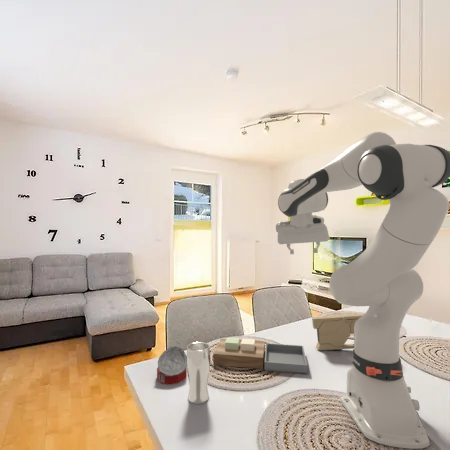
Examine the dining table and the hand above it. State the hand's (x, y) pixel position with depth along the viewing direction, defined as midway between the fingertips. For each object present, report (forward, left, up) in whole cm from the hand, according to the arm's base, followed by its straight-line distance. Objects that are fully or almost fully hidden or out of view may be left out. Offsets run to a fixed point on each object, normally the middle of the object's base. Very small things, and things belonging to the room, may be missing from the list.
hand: (303, 253), depth 114 cm
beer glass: (-39, +34, -40) cm, 65 cm away
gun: (+2, -16, -40) cm, 43 cm away
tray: (-12, +8, -39) cm, 42 cm away
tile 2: (-12, +22, -35) cm, 43 cm away
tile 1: (-12, +28, -35) cm, 47 cm away
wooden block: (-12, +25, -39) cm, 48 cm away
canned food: (-29, +46, -40) cm, 67 cm away
